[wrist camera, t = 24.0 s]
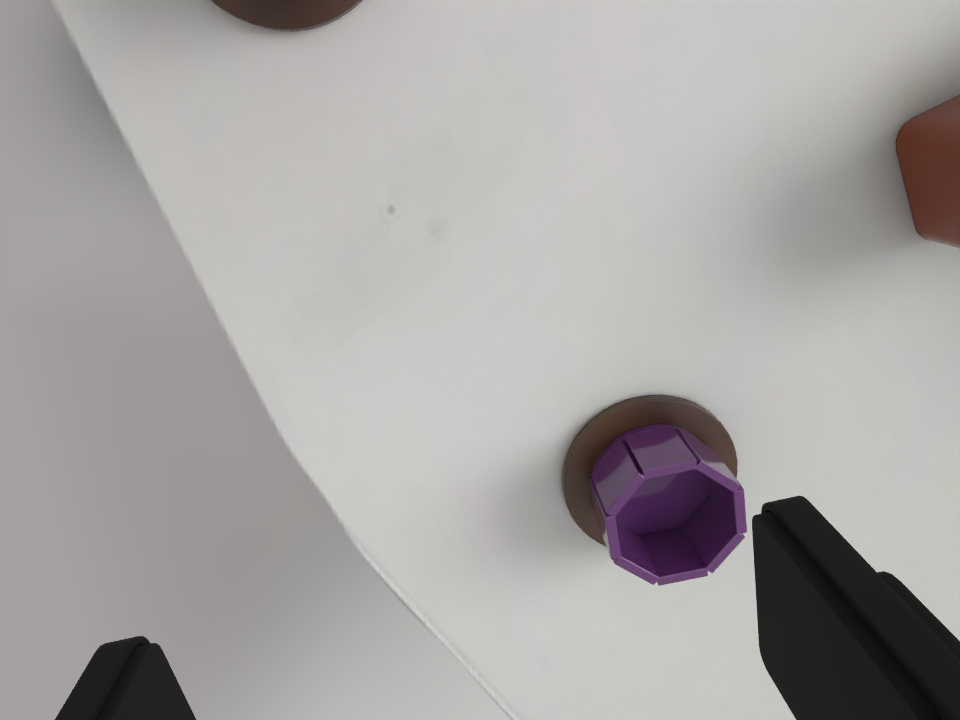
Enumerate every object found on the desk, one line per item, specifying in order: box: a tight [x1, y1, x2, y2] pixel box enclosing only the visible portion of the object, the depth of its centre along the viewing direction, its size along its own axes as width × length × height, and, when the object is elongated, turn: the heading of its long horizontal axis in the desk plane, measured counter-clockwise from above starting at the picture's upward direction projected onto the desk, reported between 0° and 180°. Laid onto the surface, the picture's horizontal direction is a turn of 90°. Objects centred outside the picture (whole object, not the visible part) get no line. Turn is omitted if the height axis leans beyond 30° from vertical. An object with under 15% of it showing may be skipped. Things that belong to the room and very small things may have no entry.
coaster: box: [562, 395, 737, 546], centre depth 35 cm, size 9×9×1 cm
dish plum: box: [590, 424, 747, 585], centre depth 33 cm, size 6×6×4 cm
